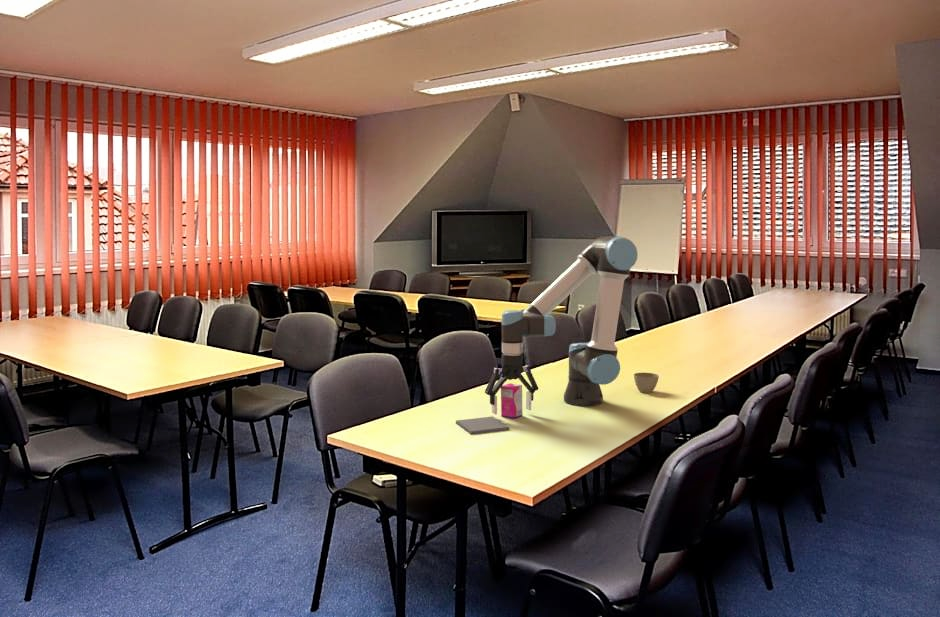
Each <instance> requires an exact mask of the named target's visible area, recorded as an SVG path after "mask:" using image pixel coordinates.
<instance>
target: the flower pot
mask: <svg viewBox="0 0 940 617" xmlns="http://www.w3.org/2000/svg"><path fill="white" fill-rule="evenodd" d="M633 379H634V383H635V386H636V388H637V390H638V391H639V393H640V394H651V393H653V392H654V391H655V389H656V386H657V384H658V382H659V374H657V373H652V372H635V373H634V374H633Z"/></svg>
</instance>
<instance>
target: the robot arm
mask: <svg viewBox="0 0 940 617" xmlns="http://www.w3.org/2000/svg"><path fill="white" fill-rule="evenodd" d="M637 260H638V249H637V247H636V245H635V244H634V242H633V241H632V240H630V239H629V238H626V237H623V236H609V235H604V236H600V237H598V238H596V239H595V240H594V241H592V242H591V243H590V244H589V245H588V246H586V247H585V248H584V249H583V250H582V251H581V252H580V253H579V254H578V255H577V258H576V260H575V261H574V262H573V263H572V264H571V265H570V266H569V267H568V268H567V269H566V270H565V271H564V272H562V274H560V276H559V277H557V279H556V280H555V281H553V282H552V283H551V284H550V285H549V286H548V287H547V288H546V289H545V290H544V291H542V293H540V295H538V297H537V298H535V300H534V301H532V303H530V304H529V305H528V306H527V307H526V308H523V309H520V310H518V309H517V310H516V309H515V310H513V309H509V310H507V309H506V310H505V311H503V312H502V314H501V324H500V325H501V353H502V354H501V366H500V367H501V368H497V367H493V370H492V374H491V376H490V379H489V381H488V383H487V385H486V388H485V389H484V394H486V395H488V396H489V404H490V405H491V413H492V414H494V415H498V396H497V395H496V394H497V393H498V392H499V390H501V387H502V386H503V385H505V382H507V381H512V380H519V381H520V382H521V384H522V386H524V387H525V389H527V391H525V392H526V394H525V396H526V397H525V408H526V410H528V411H529V412H530V411H532V401H534V393H535V392H536V391H539V386H538V383H537V382H536V380H535V378H534V375H533V373H532V370H531V369H532V368H531V366H530V365H527V364H525V365H524V366H523V363H524V362H523V361H524V360H523V358H524V357H523V352H524V351H523V350H524V348H523V346H524V342H523V341H524V338H527V337H549V336H553V335H554V334H555V333H556V326H557V323H556V319H555V316H553V315H551V314H550V313H552V312H553V310H555V309H556V308H557V307H558V306H559V305H560V304H561V303H562V302H563V301H564V300H566V298H568V297H569V296H570V295H571V294H572V293H573V292H574V291H575V290H576V289H577V288H578V287H579V286H580V285H581V284H582V283H584V281H586V280H587V279H588V278H589V277H590V276H592V275H596V274H597V273H598V274H599V276H600V279H599V286H598V290H597V293H598V294H597V299H596V307H595V313H594V320H593V327H592V331H591V339H590V341H588V342H577V343H575V342H573V343H571V344H570V345H569V347H568V348H569V349H568V381H567V385H566V388H565V391H564V394H563V401H564V403H567V404H569V405H573V406H581V407H582V406H583V407H584V406H586V407H587V406H590V407H591V406H597V405H601V404H602V403H604V395H603V392H602V388H601V385H603V386H604V385H608V384H611V383H613V382H614V381H615V380H616V379H617V378H618V377H619V374H620V372H621V363H620V361H619V359H618V350H619V349H618V347H617V346H616V344H615V342H616V335H617V328H618V321H619V315H620V310H621V304H622V303H621V302H622V297H623V290H624V282H625V280H626V279H627V278H628V277H629V276H630V274H631V273H630V272H631V268H633V266H635V264H636V263H637ZM523 372H525V375H526V376H527V378H528V380H529V382H528V381H527V379H526V378H525V377H524V376H523V374H522V373H523ZM499 375H500V376H499ZM498 378H499V379H498Z"/></svg>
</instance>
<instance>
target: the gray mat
mask: <svg viewBox="0 0 940 617" xmlns="http://www.w3.org/2000/svg"><path fill="white" fill-rule="evenodd" d="M455 424H456V425H457V426H459V427H460V428H462V429H463V430H464V431H465V432H467V433H468V434H469V435H478V434H484V433H493V432H501V431H509V430H510V426H508V425H507V424H506V423H504V422H502V421H500V419H498V418H496V417H494V416H485V417H483V416H482V417H476V418H475V417H473V418H467V419H459V420H458V419H457V420H455Z"/></svg>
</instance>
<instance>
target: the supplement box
mask: <svg viewBox="0 0 940 617" xmlns="http://www.w3.org/2000/svg"><path fill="white" fill-rule="evenodd" d="M500 410H501V413H500V416H501V417H503V418H505V419H506V418H507V419H511V420H515V419H518V418H521V417H523V412H524V411H523V384H516V383H513V382H512V383H507V384H503V385H502V387H501V388H500Z"/></svg>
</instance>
